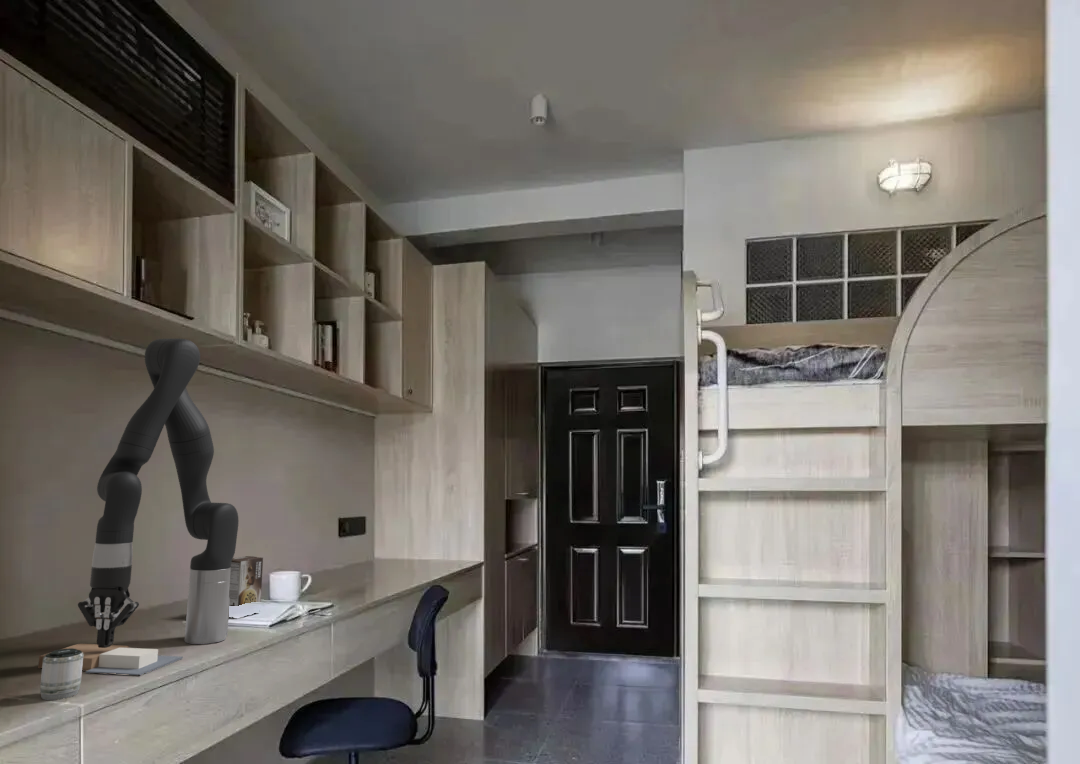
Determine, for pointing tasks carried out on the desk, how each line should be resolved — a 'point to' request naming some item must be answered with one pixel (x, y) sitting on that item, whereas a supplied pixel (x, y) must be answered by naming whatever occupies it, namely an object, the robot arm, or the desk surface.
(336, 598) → the desk surface
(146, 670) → the mat
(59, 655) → the camera lens
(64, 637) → the desk surface
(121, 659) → the white box
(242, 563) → the coffee box
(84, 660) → the plate
